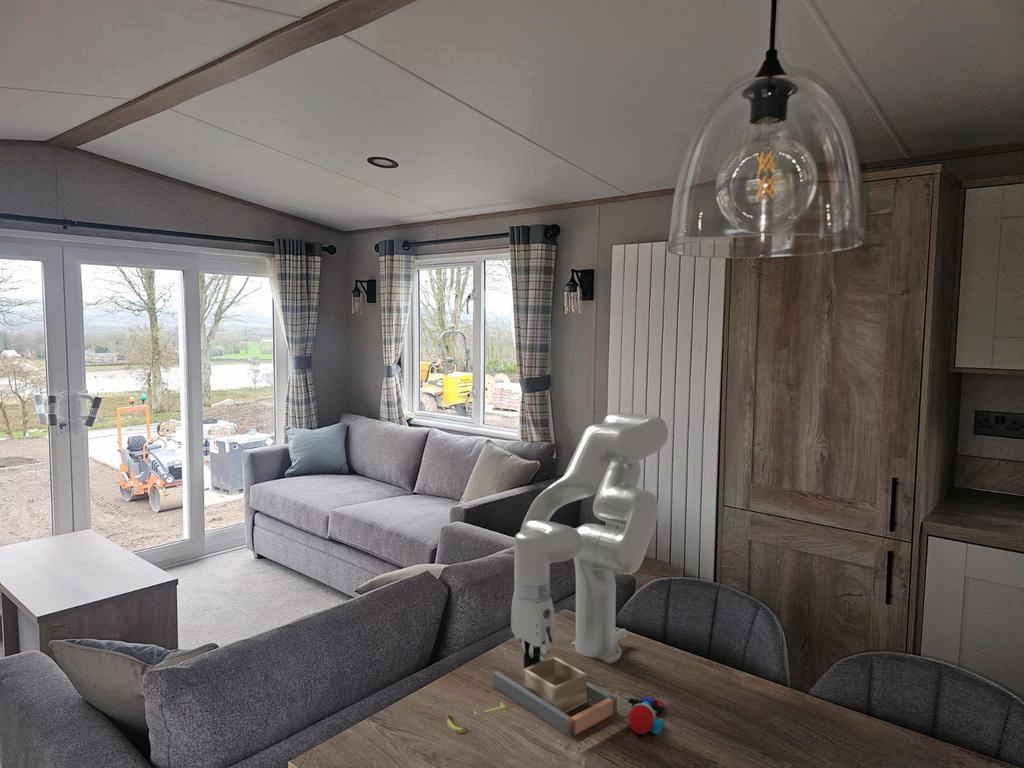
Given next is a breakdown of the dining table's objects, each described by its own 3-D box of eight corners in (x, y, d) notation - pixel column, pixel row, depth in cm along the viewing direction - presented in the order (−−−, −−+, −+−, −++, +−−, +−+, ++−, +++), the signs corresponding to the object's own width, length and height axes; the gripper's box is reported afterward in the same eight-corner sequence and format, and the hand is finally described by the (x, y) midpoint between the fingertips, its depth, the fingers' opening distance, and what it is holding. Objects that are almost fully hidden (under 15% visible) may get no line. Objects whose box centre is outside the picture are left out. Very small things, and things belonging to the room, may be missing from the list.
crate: (522, 696, 142) (522, 669, 141) (553, 682, 147) (553, 656, 147) (555, 718, 134) (555, 689, 133) (586, 702, 140) (587, 674, 139)
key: (509, 715, 138) (509, 705, 138) (458, 738, 130) (458, 727, 130) (489, 700, 143) (489, 690, 143) (439, 721, 136) (439, 710, 136)
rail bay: (492, 691, 146) (492, 672, 146) (537, 671, 154) (537, 653, 154) (570, 743, 128) (570, 722, 127) (616, 718, 136) (616, 698, 136)
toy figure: (629, 706, 143) (618, 734, 129) (632, 683, 144) (621, 708, 129) (665, 716, 141) (658, 745, 127) (668, 692, 141) (661, 719, 127)
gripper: (568, 595, 141) (568, 679, 142) (523, 574, 152) (523, 652, 154) (541, 604, 136) (541, 691, 138) (496, 582, 148) (497, 663, 149)
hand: (531, 670), depth 146 cm, fingers closed
